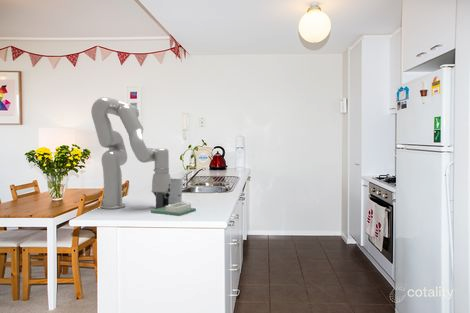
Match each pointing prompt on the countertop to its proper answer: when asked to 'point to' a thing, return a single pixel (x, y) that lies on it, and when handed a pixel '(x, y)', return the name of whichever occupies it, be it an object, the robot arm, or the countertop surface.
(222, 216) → the countertop surface
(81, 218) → the countertop surface
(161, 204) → the dark gray block
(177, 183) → the skincare box
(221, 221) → the countertop surface
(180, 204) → the header board
